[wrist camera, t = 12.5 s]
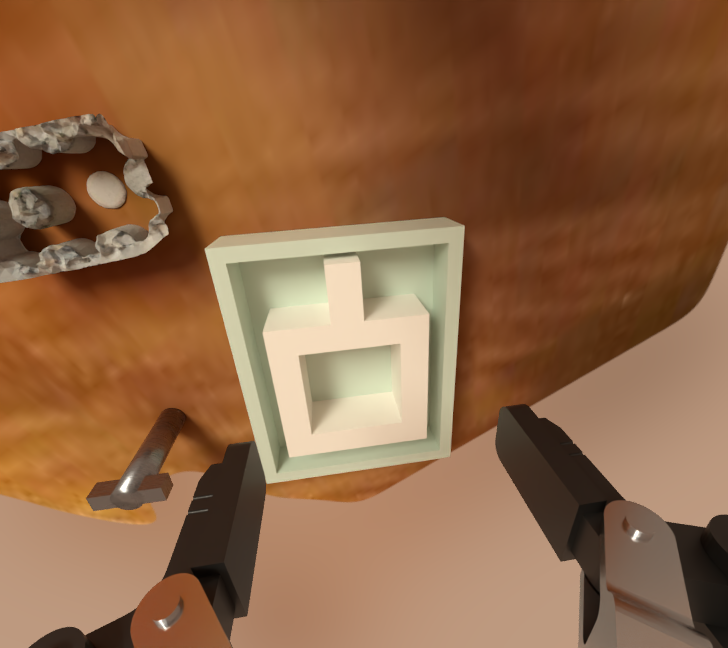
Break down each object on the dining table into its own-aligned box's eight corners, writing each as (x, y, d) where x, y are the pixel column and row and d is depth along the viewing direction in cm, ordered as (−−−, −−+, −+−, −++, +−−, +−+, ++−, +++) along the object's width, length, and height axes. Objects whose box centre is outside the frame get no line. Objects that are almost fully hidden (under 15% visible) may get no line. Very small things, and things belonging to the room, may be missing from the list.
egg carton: (139, 115, 21) (102, 104, 17) (190, 238, 24) (167, 252, 20) (-42, 150, 20) (-120, 147, 17) (35, 271, 24) (-17, 291, 20)
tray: (220, 236, 24) (204, 248, 20) (444, 217, 25) (464, 225, 22) (272, 450, 32) (266, 483, 29) (436, 427, 34) (450, 457, 30)
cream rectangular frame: (259, 255, 24) (249, 272, 20) (414, 241, 25) (430, 255, 21) (292, 422, 30) (289, 457, 27) (414, 406, 31) (426, 438, 28)
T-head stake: (141, 411, 29) (83, 494, 22) (197, 404, 29) (158, 483, 22) (149, 430, 30) (96, 514, 23) (203, 423, 30) (168, 504, 23)
